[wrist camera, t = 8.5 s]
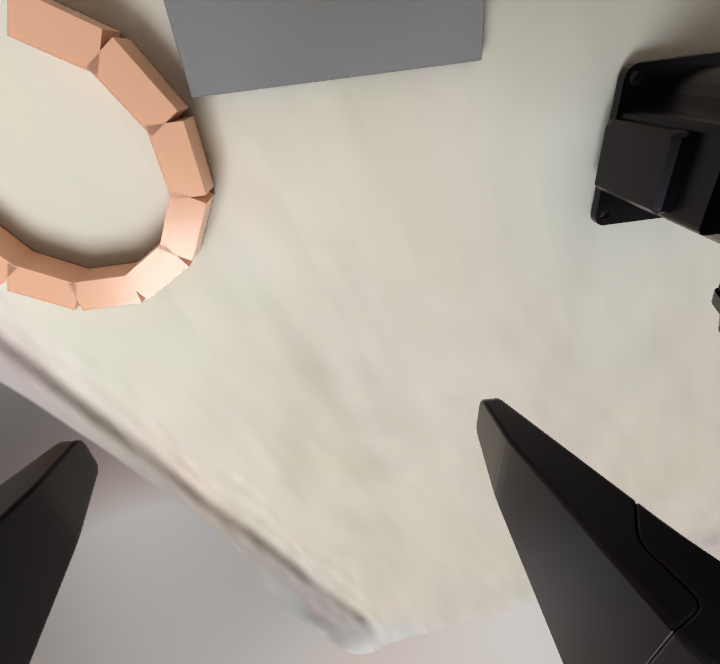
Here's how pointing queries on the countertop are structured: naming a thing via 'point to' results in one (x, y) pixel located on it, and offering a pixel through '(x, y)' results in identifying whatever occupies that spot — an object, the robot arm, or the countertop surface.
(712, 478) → the countertop surface
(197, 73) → the slate coaster
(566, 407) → the countertop surface
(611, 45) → the countertop surface
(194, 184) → the c ring
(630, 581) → the robot arm
